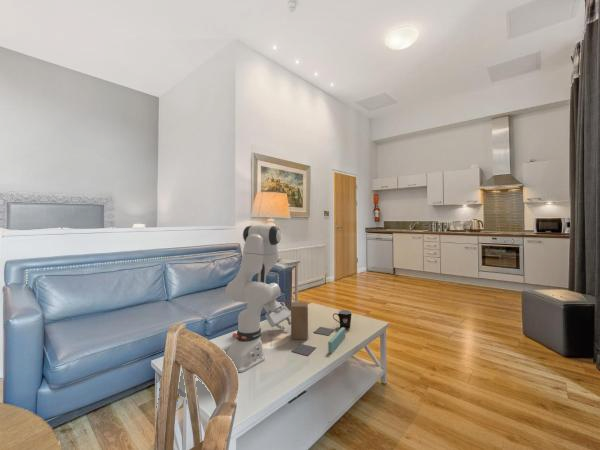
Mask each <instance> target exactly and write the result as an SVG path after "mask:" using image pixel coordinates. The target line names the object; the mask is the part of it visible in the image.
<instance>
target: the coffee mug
mask: <svg viewBox="0 0 600 450" xmlns="http://www.w3.org/2000/svg"><path fill="white" fill-rule="evenodd" d="M337 312H338V313H337ZM337 312H336V313H333V315H332V317H333V319H334V321H336V322H338V323H339V326H340V329H341V328H342V327H343V328H345V330H349V329H350V328H351V322H352V321H351V320H352V315H353V314H352V311H351V310H350V309H340V310H338V311H337ZM335 315H337V316H338V320H337V319H336V318H335ZM348 328H349V329H348Z"/></svg>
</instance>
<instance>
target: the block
mask: <svg viewBox="0 0 600 450" xmlns="http://www.w3.org/2000/svg"><path fill="white" fill-rule="evenodd" d="M290 312H291V316H290V320H291V325H290V338H291V340H293V341H294V340H295V341H296V340H297V341H299V340H300V341H304V340H305V341H307V340H308V339H309V304H308V302H307V301H293V302H291V305H290Z"/></svg>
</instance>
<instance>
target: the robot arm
mask: <svg viewBox="0 0 600 450" xmlns="http://www.w3.org/2000/svg"><path fill="white" fill-rule="evenodd" d="M242 239H243V241H244V245H243V250H242V257H241V263H240V268H239V270H238V272H237V274H236V276H235V277H234V279H232V280H230V281H229V282H228V284H227V285H226V287H225V296H226V298H227V299H229V300H230V301H233V302H237V303H238V302H239V303H246V304H247V305H246V308H244V309H243V310H241V311H240V312H239V314H238V315H237V316H238V317H237V321H238V322H237V323H238V324H237V326H238V327H237V330H236V333H235V332H234V333H232V335H231V336H232V338H235V339H234V341H233V343H232V344H231V345H230V347H229V348H228V350H227V351H226V355H228V356H229V357H230V358H231V359H232V361H233V362H234V364H235V366H236V368H237V371H238V372H237V373H243V372H246V371H247V370H250V369H251V368H253V367H255V366H257V365H258V364H260V363H262V362H264V361H265V360H266V358H265V356H264V349H263V347H264V346H263V341H262V340H261V339H262V338H261V336H262V329H261V313H262V311H263V309H264V310H265V312H266V313H265V315H264V316H265V318H266V321H267V322H268V324H269V326H270V327H272V328H274V327H275V326H276V328H278V329H280V331H283V330H285V327H284V325H281V323H282V322H284V321H285V320H286V321H287V324H288V325H289V326H291V310H290V309H288V307H287V306H286V304H285V303H284V302H282V301H281V302H279V301H277V300H276V299H277V298H278V297H280V296H281V294H282V289H281V287H280V285H279V284H278V283H277V282H271V283H266V281H267V280H266V278H267V275H268V273H269V272H270V271H271V269H272V268H273V267H275V266H276V265H277V263H278V261H279V248H278V247H279V246H278V244H279V243H280V241H281V239H282V232H281V230H280V229H279V227H277V226H270V225H257V224H256V225H248V226H246V227H245V228H244V229H243V231H242ZM254 277H255V281H253V278H254Z"/></svg>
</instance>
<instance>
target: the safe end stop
mask: <svg viewBox="0 0 600 450" xmlns="http://www.w3.org/2000/svg"><path fill="white" fill-rule="evenodd" d="M345 339H346V329H345V328H343V327H342V328H341V327H340V329H339V330H338V331H337V332H336V333H335V334H334V335H333V336H332V337H331V338H330V339H329V340H328V342H327V346H328V347H327V351H328V352H327V353H328V354H330V355H331V354H333V353H334V352H335V350H336V349H338V347H339V346H340V345H341V344H342V342H343V341H344V340H345ZM340 343H341V344H340Z"/></svg>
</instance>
